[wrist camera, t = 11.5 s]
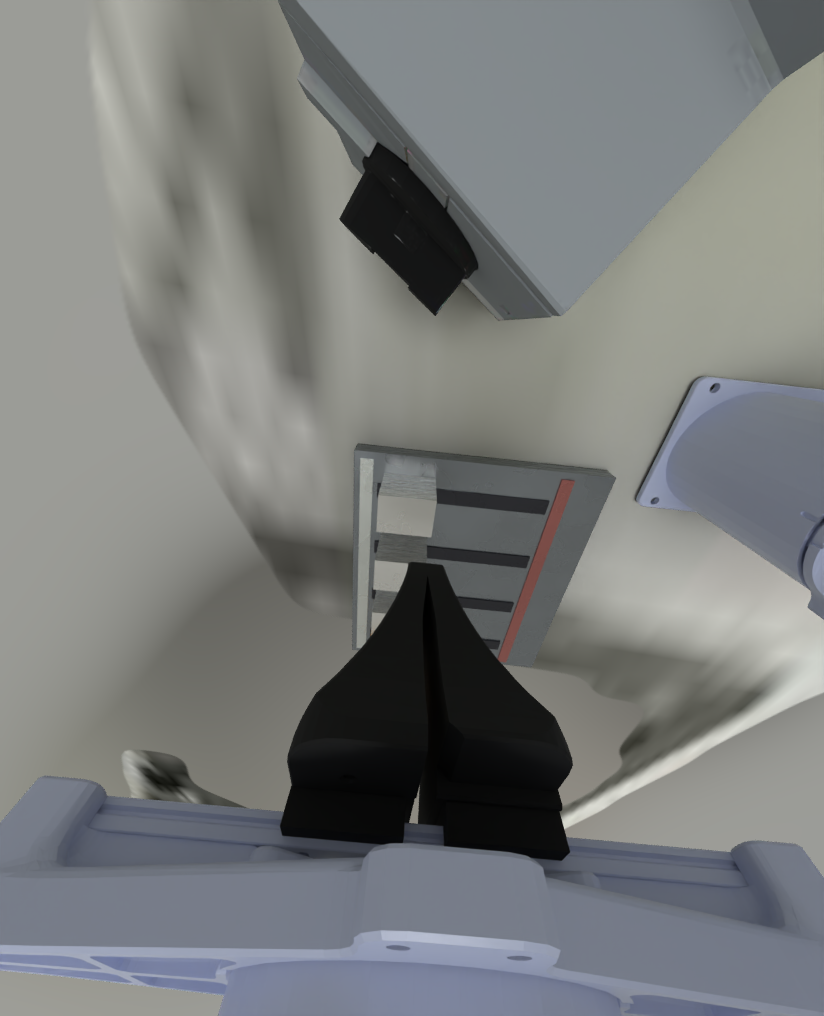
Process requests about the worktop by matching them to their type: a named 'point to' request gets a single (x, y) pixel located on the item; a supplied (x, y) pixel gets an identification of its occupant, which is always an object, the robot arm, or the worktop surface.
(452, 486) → the breaker panel
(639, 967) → the robot arm
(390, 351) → the worktop surface
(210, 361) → the worktop surface
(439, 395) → the worktop surface
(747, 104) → the circuit breaker
